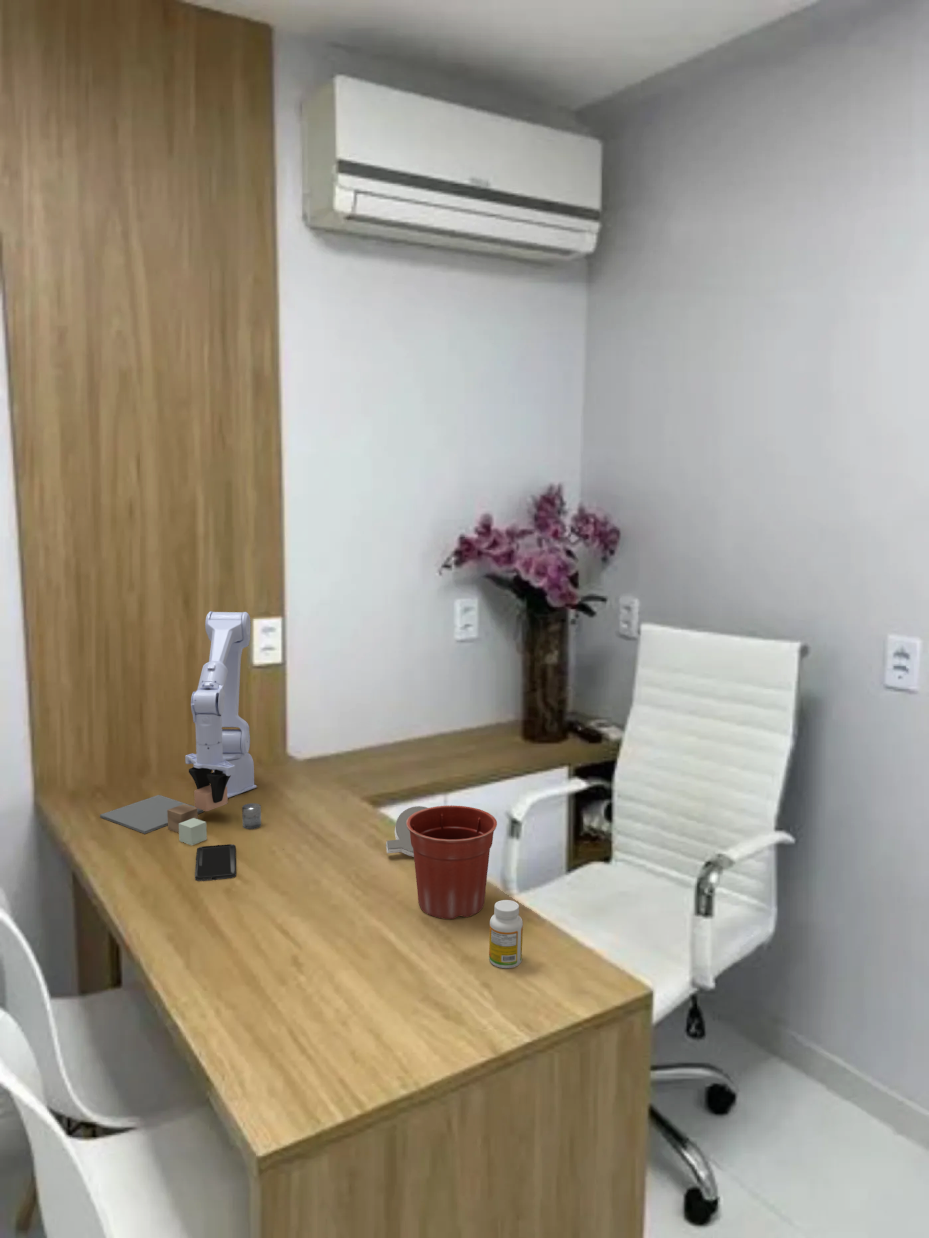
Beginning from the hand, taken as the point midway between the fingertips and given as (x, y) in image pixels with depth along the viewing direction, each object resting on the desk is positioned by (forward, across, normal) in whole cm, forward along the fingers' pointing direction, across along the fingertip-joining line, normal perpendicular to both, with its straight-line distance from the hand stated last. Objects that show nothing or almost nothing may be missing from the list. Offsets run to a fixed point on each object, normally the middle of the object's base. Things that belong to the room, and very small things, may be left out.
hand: (211, 799), depth 212 cm
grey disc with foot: (+4, +49, +14) cm, 51 cm away
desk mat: (+4, -12, -7) cm, 15 cm away
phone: (+5, +20, -16) cm, 26 cm away
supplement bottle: (+4, +87, -13) cm, 88 cm away
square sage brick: (+4, +7, -11) cm, 14 cm away
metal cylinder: (+4, +11, +2) cm, 12 cm away
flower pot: (+4, +68, -2) cm, 69 cm away
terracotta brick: (+1, 0, 0) cm, 1 cm away
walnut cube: (+4, 0, -8) cm, 9 cm away
